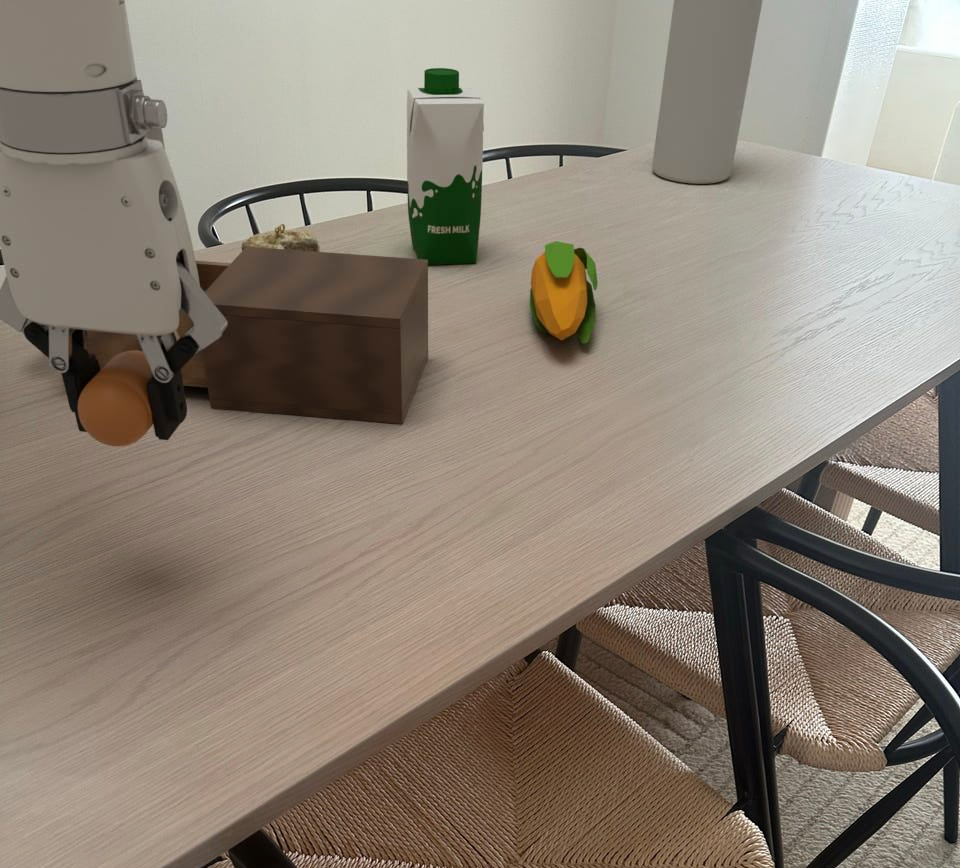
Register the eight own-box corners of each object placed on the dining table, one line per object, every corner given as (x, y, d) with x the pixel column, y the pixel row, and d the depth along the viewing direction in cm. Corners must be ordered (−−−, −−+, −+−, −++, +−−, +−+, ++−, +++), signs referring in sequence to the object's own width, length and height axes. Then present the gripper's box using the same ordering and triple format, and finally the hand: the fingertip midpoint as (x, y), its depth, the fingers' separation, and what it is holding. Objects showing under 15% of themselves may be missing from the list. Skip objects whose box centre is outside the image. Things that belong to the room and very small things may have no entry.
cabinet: (210, 408, 90) (194, 302, 84) (257, 343, 102) (246, 246, 95) (402, 424, 89) (400, 318, 83) (428, 357, 100) (428, 259, 94)
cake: (226, 279, 117) (217, 231, 114) (274, 256, 124) (267, 210, 121) (296, 287, 113) (288, 238, 110) (342, 263, 120) (336, 216, 117)
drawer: (11, 379, 92) (-14, 294, 87) (74, 322, 102) (56, 244, 97) (237, 397, 90) (225, 313, 85) (277, 338, 100) (269, 260, 95)
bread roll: (142, 462, 61) (129, 397, 58) (74, 455, 62) (57, 390, 59) (186, 404, 67) (176, 342, 65) (124, 398, 68) (111, 336, 65)
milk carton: (470, 242, 128) (475, 67, 116) (485, 266, 122) (491, 83, 109) (403, 244, 127) (400, 67, 114) (414, 269, 120) (412, 83, 107)
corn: (595, 225, 110) (607, 290, 95) (592, 293, 115) (604, 365, 100) (528, 227, 111) (530, 292, 95) (529, 295, 116) (530, 367, 100)
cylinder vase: (635, 171, 157) (658, -16, 141) (684, 159, 164) (711, -21, 148) (698, 190, 150) (729, -5, 134) (746, 176, 157) (781, -11, 141)
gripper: (245, 112, 55) (274, 412, 67) (-46, 89, 56) (34, 388, 68) (200, 147, 49) (241, 468, 61) (-123, 121, 50) (-21, 441, 62)
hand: (131, 423), depth 64 cm, fingers closed on bread roll, 4 cm apart
